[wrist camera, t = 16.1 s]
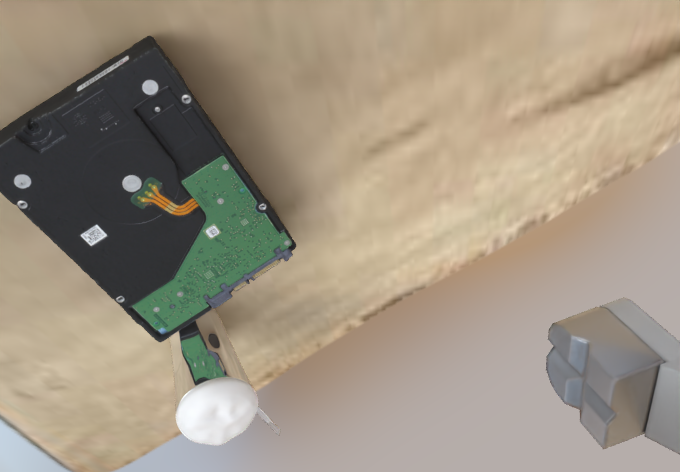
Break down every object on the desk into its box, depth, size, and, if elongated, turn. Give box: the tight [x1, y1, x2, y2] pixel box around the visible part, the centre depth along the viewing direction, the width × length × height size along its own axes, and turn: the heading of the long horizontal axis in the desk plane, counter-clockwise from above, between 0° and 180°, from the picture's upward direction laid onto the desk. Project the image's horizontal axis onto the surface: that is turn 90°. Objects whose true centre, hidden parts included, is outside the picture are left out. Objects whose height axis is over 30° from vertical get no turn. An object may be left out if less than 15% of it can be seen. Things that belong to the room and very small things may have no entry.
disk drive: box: [0, 36, 296, 342], centre depth 35 cm, size 10×3×15 cm
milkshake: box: [170, 308, 281, 445], centre depth 38 cm, size 4×5×10 cm
